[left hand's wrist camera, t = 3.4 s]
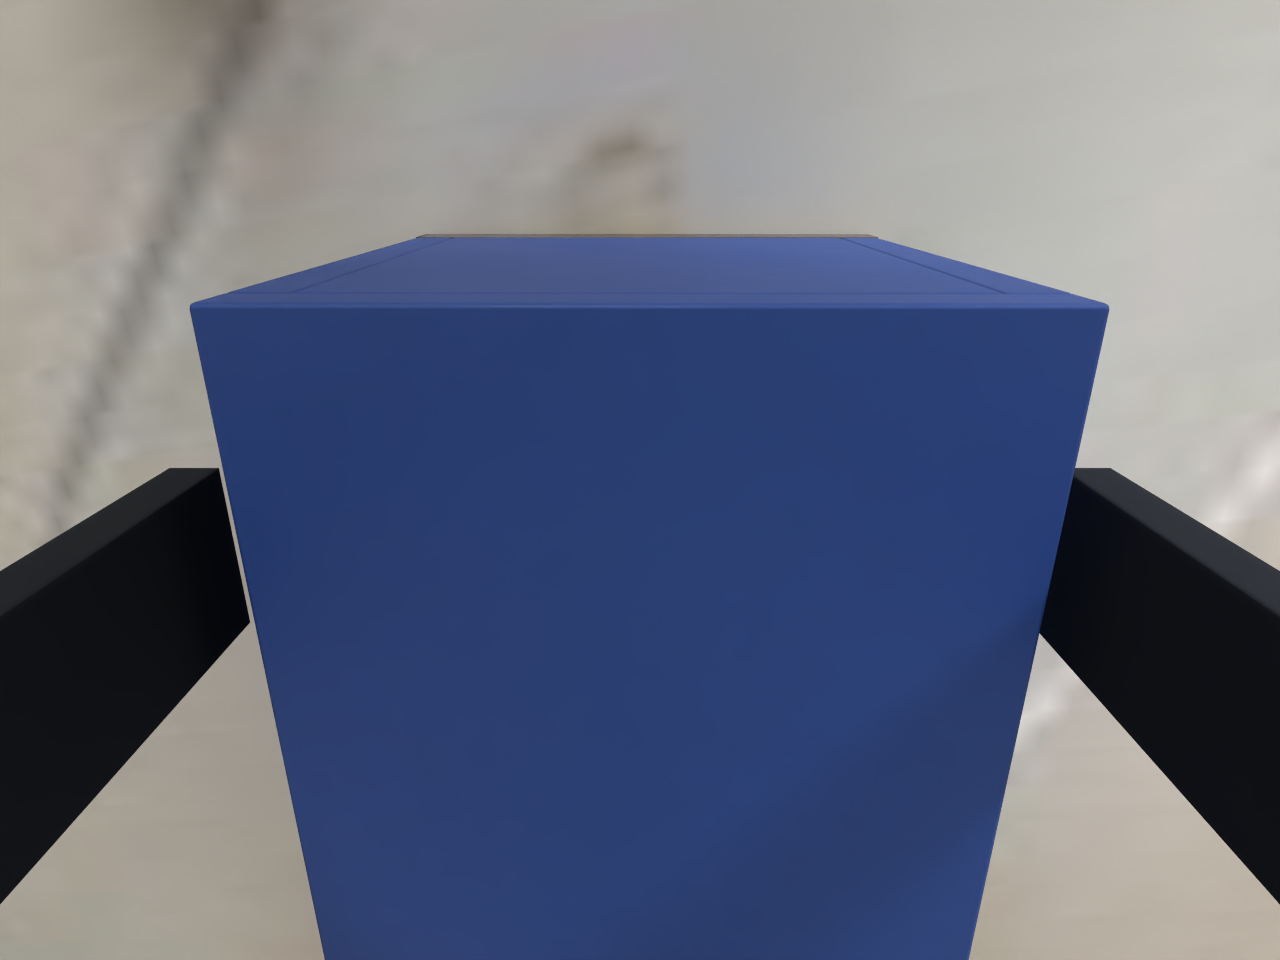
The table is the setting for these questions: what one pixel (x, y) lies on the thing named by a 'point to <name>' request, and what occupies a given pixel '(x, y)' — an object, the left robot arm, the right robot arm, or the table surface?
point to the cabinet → (648, 583)
